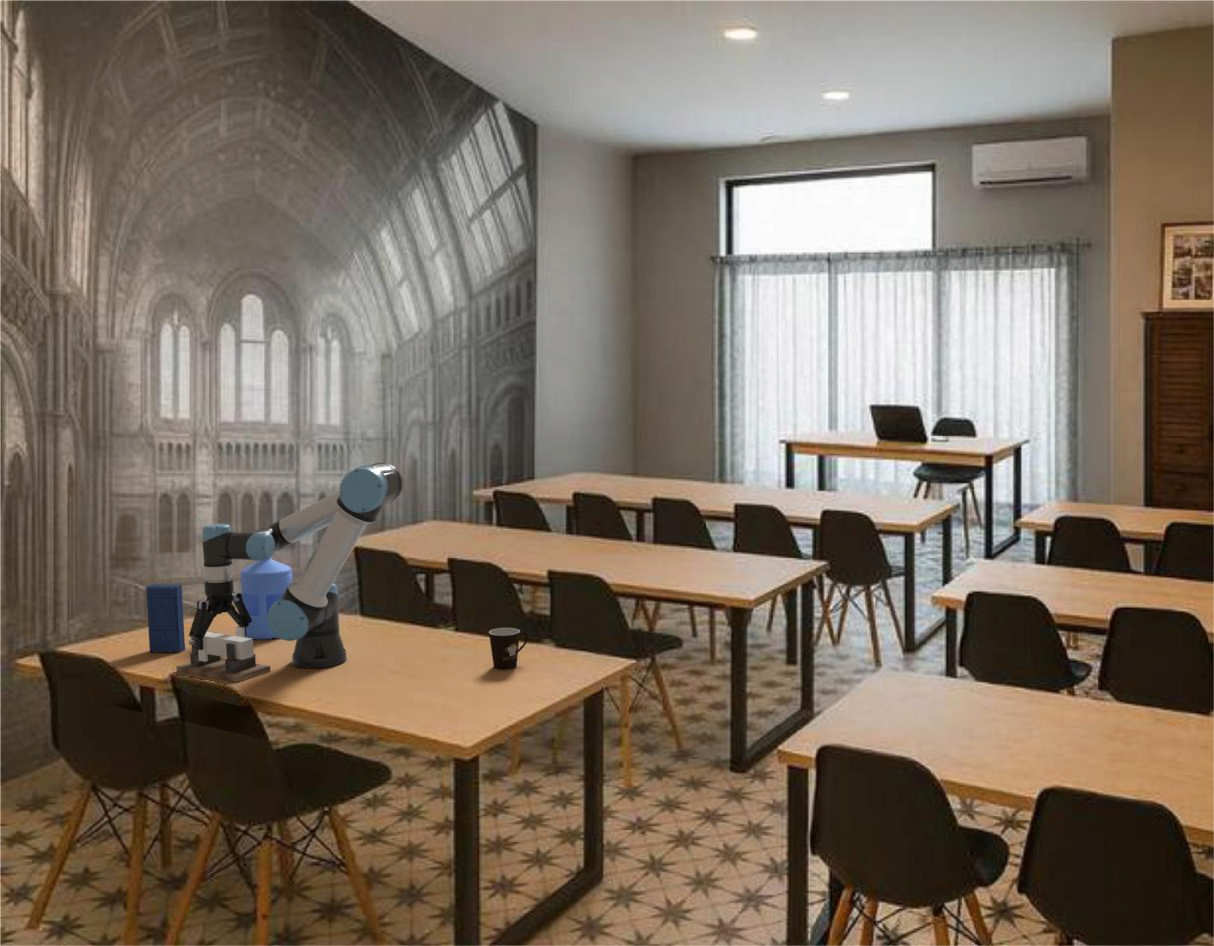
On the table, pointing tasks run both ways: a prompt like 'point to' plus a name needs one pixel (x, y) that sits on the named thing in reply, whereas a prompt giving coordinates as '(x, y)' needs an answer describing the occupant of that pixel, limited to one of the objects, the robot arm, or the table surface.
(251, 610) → the water jug
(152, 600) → the electronic device
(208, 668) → the cable cradle
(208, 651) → the white slab
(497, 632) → the coffee mug
